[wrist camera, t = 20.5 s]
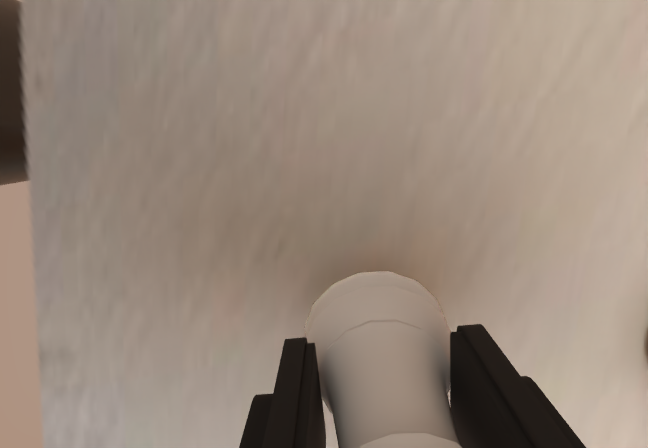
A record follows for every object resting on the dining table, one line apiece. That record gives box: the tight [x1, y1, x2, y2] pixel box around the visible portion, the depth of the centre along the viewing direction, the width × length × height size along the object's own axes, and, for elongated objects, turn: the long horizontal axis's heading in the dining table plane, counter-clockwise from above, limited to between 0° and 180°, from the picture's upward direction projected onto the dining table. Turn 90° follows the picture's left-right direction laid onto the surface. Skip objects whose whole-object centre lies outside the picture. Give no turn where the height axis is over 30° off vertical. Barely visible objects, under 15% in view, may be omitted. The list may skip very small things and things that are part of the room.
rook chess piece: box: [304, 271, 462, 448], centre depth 8 cm, size 4×4×8 cm
